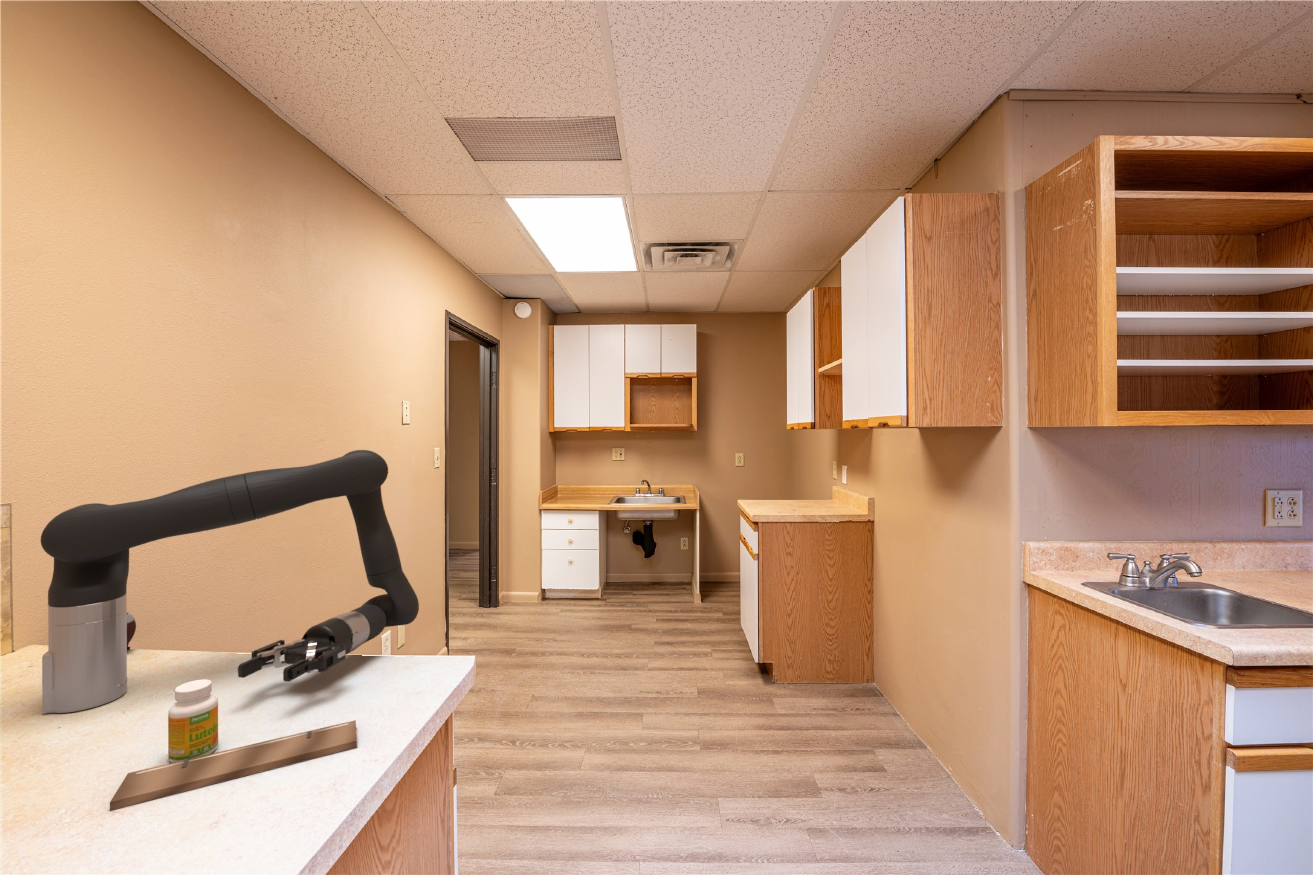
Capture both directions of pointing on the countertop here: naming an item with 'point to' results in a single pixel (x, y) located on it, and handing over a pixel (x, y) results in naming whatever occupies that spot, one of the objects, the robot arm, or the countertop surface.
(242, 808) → the countertop surface
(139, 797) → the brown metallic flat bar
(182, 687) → the supplement bottle
